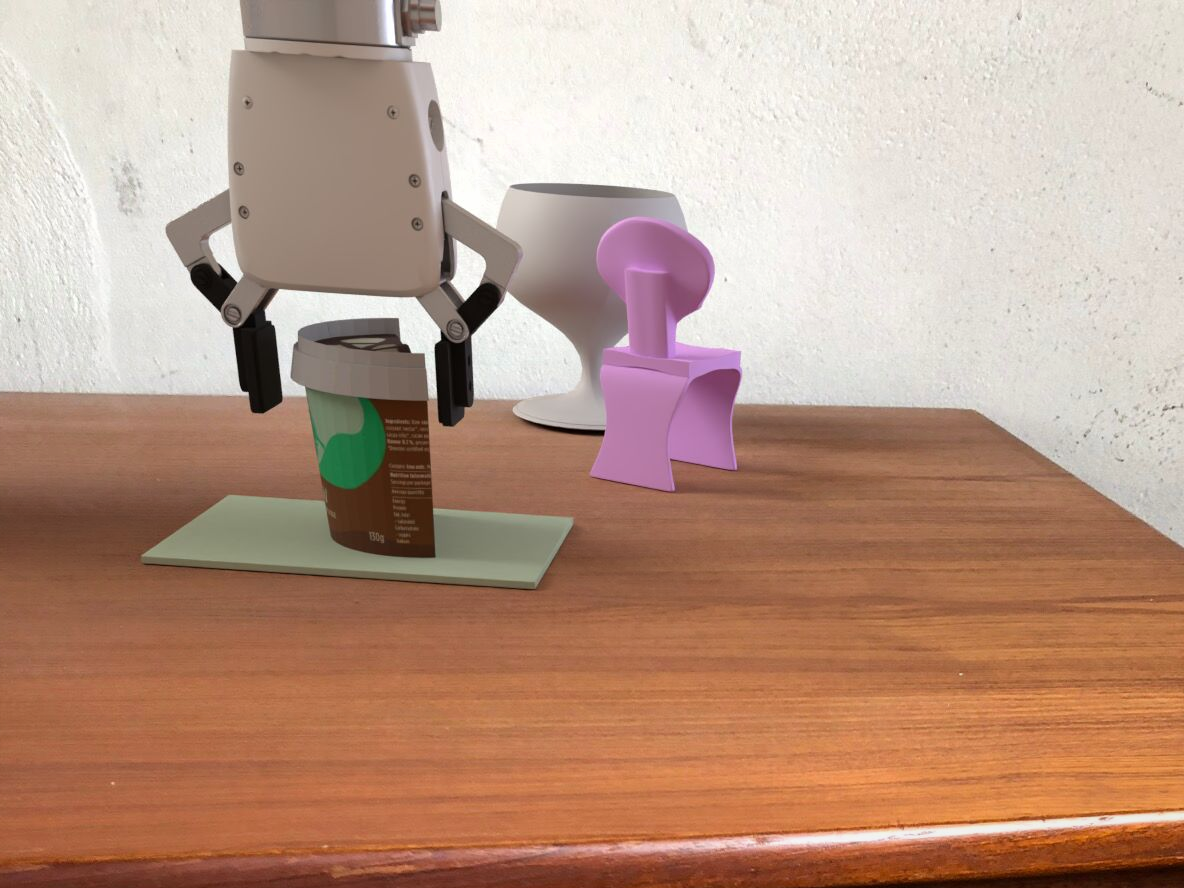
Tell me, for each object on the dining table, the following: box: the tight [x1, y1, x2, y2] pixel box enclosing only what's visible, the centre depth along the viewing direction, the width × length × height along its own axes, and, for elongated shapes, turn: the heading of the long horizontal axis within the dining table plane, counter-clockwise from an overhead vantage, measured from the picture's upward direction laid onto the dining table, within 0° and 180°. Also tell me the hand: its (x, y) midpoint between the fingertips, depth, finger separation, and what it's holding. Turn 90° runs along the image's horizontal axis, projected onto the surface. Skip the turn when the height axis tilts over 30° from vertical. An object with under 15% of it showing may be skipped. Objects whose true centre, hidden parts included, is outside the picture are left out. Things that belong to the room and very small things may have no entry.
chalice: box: [495, 182, 689, 432], centre depth 109 cm, size 14×14×15 cm
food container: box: [289, 317, 436, 558], centre depth 79 cm, size 12×6×10 cm, turn 18°
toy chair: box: [589, 217, 743, 492], centre depth 95 cm, size 8×9×15 cm
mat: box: [140, 494, 574, 590], centre depth 81 cm, size 20×13×1 cm, turn 88°
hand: (359, 415), depth 78 cm, fingers open, 9 cm apart
